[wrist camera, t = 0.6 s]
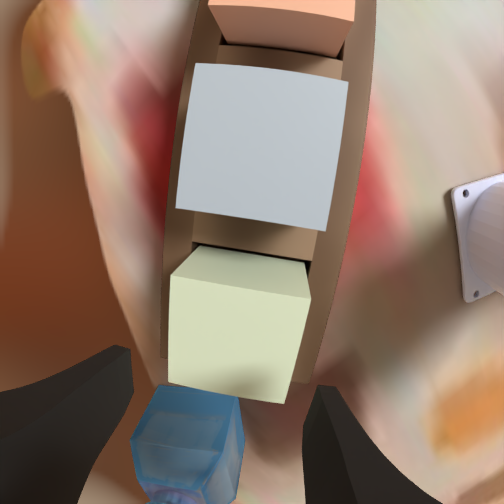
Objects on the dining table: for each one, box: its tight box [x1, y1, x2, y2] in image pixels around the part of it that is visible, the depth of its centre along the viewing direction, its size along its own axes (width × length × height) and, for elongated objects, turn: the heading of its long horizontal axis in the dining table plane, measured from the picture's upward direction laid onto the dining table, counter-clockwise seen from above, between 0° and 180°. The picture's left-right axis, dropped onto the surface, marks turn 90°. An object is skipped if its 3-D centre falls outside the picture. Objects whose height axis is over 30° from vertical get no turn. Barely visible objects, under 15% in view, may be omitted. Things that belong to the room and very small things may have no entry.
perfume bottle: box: [130, 385, 245, 504], centre depth 17 cm, size 6×6×12 cm
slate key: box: [176, 63, 348, 231], centre depth 12 cm, size 5×5×4 cm
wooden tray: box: [161, 0, 376, 384], centre depth 16 cm, size 9×25×3 cm, turn 172°
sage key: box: [168, 246, 311, 404], centre depth 15 cm, size 5×5×4 cm
